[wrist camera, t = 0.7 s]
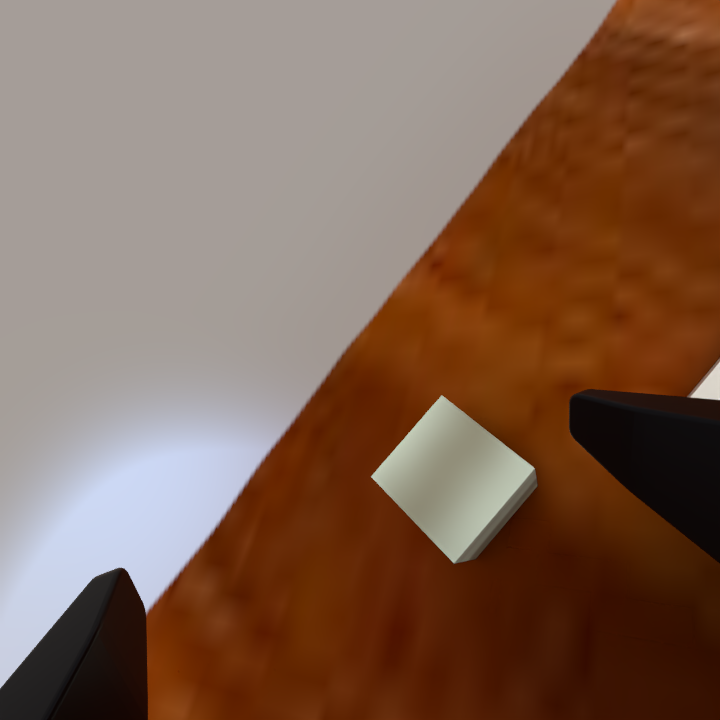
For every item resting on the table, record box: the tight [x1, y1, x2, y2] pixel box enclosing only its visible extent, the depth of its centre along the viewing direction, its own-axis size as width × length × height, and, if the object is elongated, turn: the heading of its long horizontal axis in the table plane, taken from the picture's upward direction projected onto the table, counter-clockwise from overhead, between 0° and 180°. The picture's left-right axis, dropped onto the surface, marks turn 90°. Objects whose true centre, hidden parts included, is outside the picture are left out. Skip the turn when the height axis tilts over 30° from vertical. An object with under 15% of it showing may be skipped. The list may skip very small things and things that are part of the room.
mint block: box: [371, 396, 538, 563], centre depth 21 cm, size 5×5×6 cm
